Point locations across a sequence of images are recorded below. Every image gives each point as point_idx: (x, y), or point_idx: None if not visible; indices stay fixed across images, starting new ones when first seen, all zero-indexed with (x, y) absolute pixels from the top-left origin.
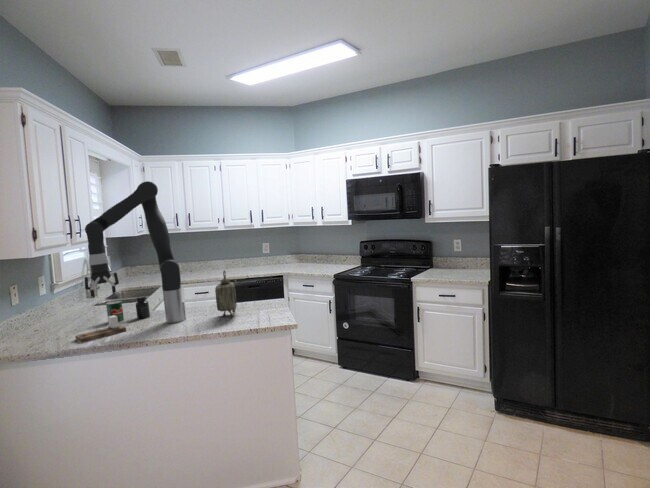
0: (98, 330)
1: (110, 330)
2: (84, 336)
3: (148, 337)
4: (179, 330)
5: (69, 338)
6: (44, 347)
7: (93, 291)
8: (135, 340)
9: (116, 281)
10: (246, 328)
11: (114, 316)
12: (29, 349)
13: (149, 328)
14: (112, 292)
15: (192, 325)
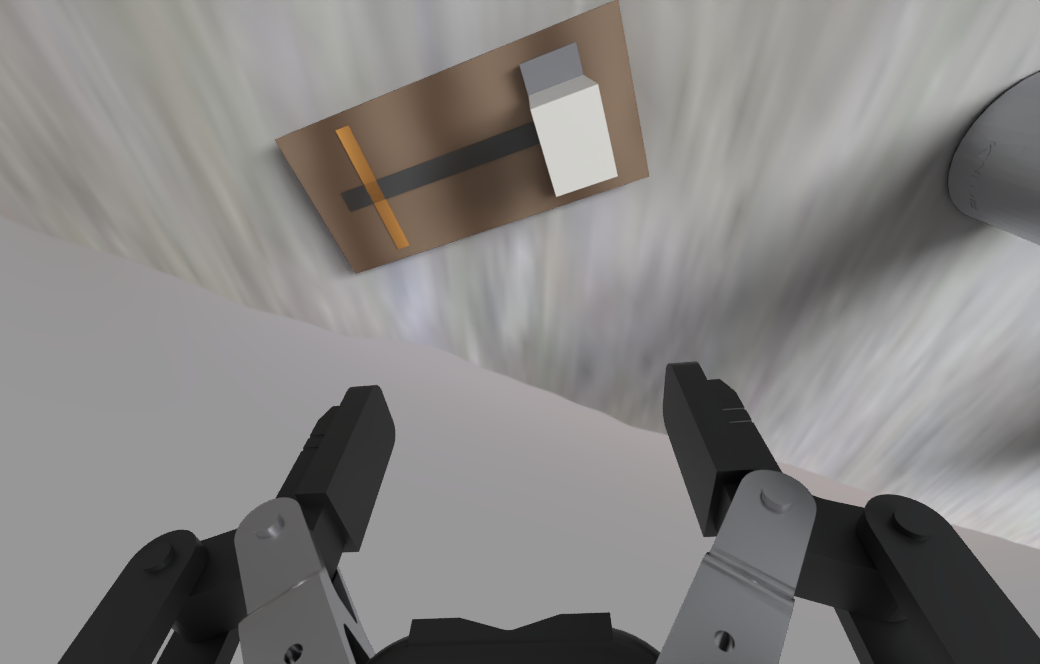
0: (439, 98)
1: (534, 192)
2: (362, 223)
3: None
4: (861, 404)
5: (203, 19)
6: (113, 177)
7: (359, 525)
8: (639, 415)
9: (875, 652)
10: (1015, 542)
11: (592, 165)
12: (3, 147)
13: (783, 232)
14: (672, 374)
15: (966, 365)
